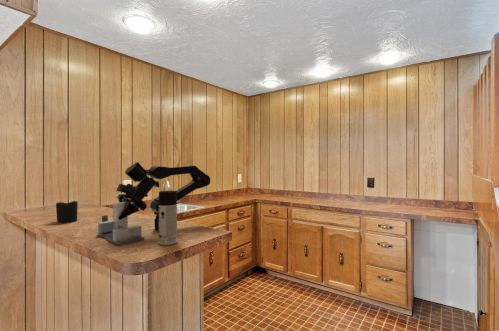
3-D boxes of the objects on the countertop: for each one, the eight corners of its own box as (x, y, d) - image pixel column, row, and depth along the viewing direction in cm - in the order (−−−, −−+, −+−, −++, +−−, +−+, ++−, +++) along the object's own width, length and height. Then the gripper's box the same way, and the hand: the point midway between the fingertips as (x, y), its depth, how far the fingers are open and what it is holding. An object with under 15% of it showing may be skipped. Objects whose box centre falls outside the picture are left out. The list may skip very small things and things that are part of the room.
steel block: (123, 232, 113) (122, 201, 113) (127, 234, 110) (127, 203, 110) (113, 234, 111) (112, 203, 110) (117, 236, 107) (117, 204, 107)
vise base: (97, 234, 114) (97, 223, 114) (122, 230, 121) (121, 219, 121) (118, 245, 99) (118, 232, 99) (144, 239, 106) (144, 227, 106)
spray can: (161, 240, 105) (160, 190, 105) (178, 240, 106) (178, 190, 105) (156, 246, 98) (156, 192, 98) (175, 245, 99) (174, 192, 99)
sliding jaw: (92, 228, 119) (91, 217, 119) (115, 224, 126) (115, 213, 126) (100, 233, 112) (100, 220, 112) (125, 228, 119) (124, 217, 119)
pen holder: (68, 223, 134) (67, 204, 134) (51, 223, 136) (51, 203, 135) (82, 219, 144) (81, 201, 144) (66, 219, 145) (66, 201, 145)
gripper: (120, 175, 119) (94, 203, 112) (138, 177, 106) (109, 209, 98) (139, 191, 125) (114, 219, 117) (157, 195, 112) (131, 226, 104)
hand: (116, 218), depth 109 cm, fingers closed on steel block, 5 cm apart
